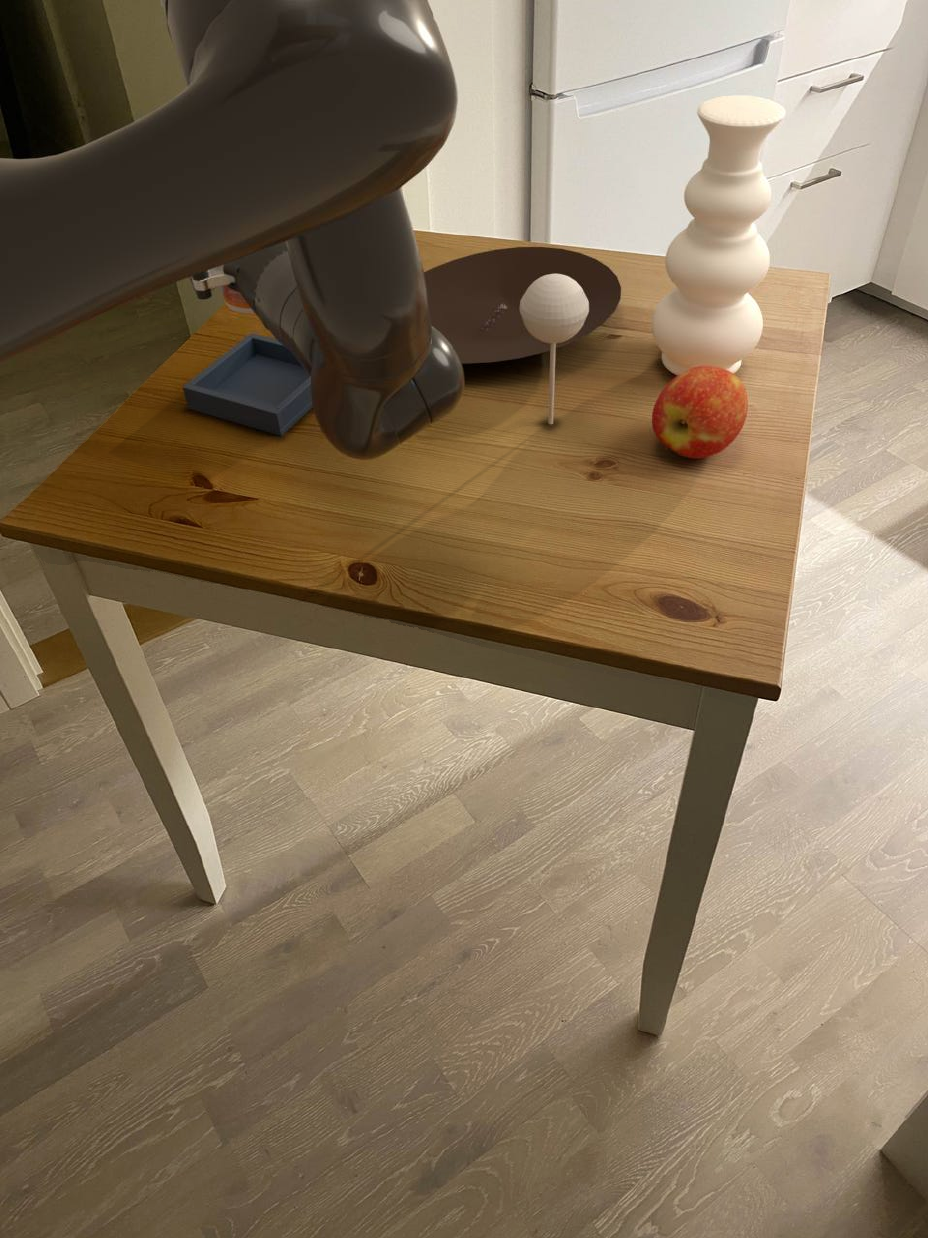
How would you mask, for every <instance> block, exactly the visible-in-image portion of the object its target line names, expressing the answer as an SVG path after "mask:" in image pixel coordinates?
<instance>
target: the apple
mask: <svg viewBox="0 0 928 1238" xmlns="http://www.w3.org/2000/svg"><path fill="white" fill-rule="evenodd" d="M746 389H747V388H746V387H745V385H744V383H743V381H742V380H741V379H740V378H739V377H738V376H737V375H736V374H735V373H734V374H733V373H731V372H730V371H728V370H726V369H723V368H720V367H714V366H699V367H694V368H691V369H689V370H686V371H684V372H682V373H681V374H679V375H678V376H677V375H675V377H673V378H672V379H671V380H670V381H669V382H668V383H667V384H666V386H665V387H664V388H663V389H662V390H661V392H660V393H659V395H658V397H657V398H656V400H655V403H654V405H653V409H652V412H651V426H652V430H653V432H654V435H655V436H656V439H657V440H658V441H659V442H660V444H661V445H663V446H664V447H666V448H667V449H669V450H670V451H672V452H674V453H675V454H677V455H678V456H681V457H684V458H689V459H705V458H706V459H707V458H709V457H711V456H715V455H716V454H719V453H721V452H723V451H724V450H726V449H727V448H728V447H729V446H730V445H731V444H732V443H733V442H734V441H735V440H736V439H737V437H738V436H739V434H740V433H741V431H742V430H743V428H744V425H745V423H746V420H747V416H748V410H749V409H748V408H749V399H748V394H747V390H746Z"/></svg>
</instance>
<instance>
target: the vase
mask: <svg viewBox="0 0 928 1238" xmlns="http://www.w3.org/2000/svg"><path fill="white" fill-rule="evenodd" d="M696 113H697V116H698V118H699V120H700V122H701V124H702V125H703V127H704V128H705V130H706V132H707V135H708V137H709V145H708V151H707V152H708V153H707V158H705V159H704V161H703V163H702V166H701V169H700V170H699V171H697V172H696V173H695V174H694V175H693V176H692V177H691V178H690V179H689V181H688V182H687V184H686V186H685V188H684V193H683V199H684V204H685V205H684V206H686V210H687V211H688V212H689V214H690V215H691V216H692V217H693V219H692V220H690V221H689V223H688V225H687V227H686V228H684V229H683V230H682V231H680V232H679V233H678V234H677V235H676V236H675V237H673V239H672V240H671V242H670V244H669V245H668V248H667V249H666V253H665V259H664V263H665V269H666V273H667V275H668V277H669V279H670V280H671V282H672V283H673V284H674V286H676V287H675V288H673V289H672V290H671V291H669V292H668V293H666V294H665V295H664V297H663V298H661V300H660V301H659V302H658V303H657V306H656V308H655V309H654V312H653V315H652V319H651V333H652V337H653V339H654V342H655V344H656V346H657V347H658V349H659V350H660V351H661V362H662V365H664V367H665V368H666V369H667V371H669V372H670V373H672V374H674V375H675V376H678V375H679V374H681V373H682V372H684V371H686V370H689V369H691V368H694V367H699V366H714V367H720V368H723V369H726V370H728V371H730V372H731V373H733V374H734V375H735V373H737V371H738V370H739V369H740V368H741V367H742V366H741V365H742V361H743V360H744V359H745V358H746V357H748V356H749V355H750V354H751V353H752V352H753V351H754V349H755V348H756V346H757V345H758V343H759V341H760V339H761V337H762V333H763V329H764V328H763V327H764V319H763V314H762V312H761V309H760V307H759V305H758V303H757V302H756V300H755V299H754V298H753V297H752V296H751V294H749V293H750V292H751V291H753V290H754V289H756V288H757V287H758V286H759V285H760V284H761V283H762V282H763V281H764V279H765V277H766V275H767V274H768V272H769V268H770V264H771V253H770V250H769V248H768V245H767V243H766V242H765V240H764V238H763V237H762V236H761V235H760V234H759V233H758V229H757V226H756V224H755V223H754V222H755V221H756V220H758V219H759V218H760V217H762V216H763V215H764V214H765V213H766V212H767V209H768V208H769V207H770V204H771V201H772V195H773V194H772V187H771V184H770V182H769V180H768V178H767V177H766V176H765V174H763V164H762V163H761V161H760V158H761V153H762V148H763V144H764V141H765V139H766V138H767V137H768V135H769V134H770V133H771V132H772V131H773V130H775V129H776V127H777V126H778V125H779V124H781V122H782V121H783V120H784V118H785V116H786V109H785V107H784V106H782V105H781V104H779V103H778V102H776V101H774V100H772V99H768V98H765V97H761V96H755V95H746V94H745V95H744V94H734V95H730V94H729V95H723V96H717V97H712V98H710V99H707V100H706V101H703V102H702V103H701V104H699V105H698V107H697V110H696Z"/></svg>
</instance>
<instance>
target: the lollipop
mask: <svg viewBox="0 0 928 1238" xmlns="http://www.w3.org/2000/svg"><path fill="white" fill-rule="evenodd" d="M588 312H589V301H588V299H587V297H586V295H585V293H584V291H583V289H582V288H581V286H580V285H579V284H578V283H577V282H576V281H575V280H573V279H572V278H570V277H568V276H566V275H562V274H549V275H545V276H542V277H540V278H539V279H537V280H535V281H534V282H533V283H532V284H531V285H530V286H529V287H528V289H527V291H526V292H525V294H524V295H523V297H522V299H521V301H520V313H521V316H522V319H523V322H524V325H525V327H526V328H527V330H528V331H529V332H530V333H531V334H532V335H533V336H534V337H535V338H537V339H539V340H540V341H543V342H546V343H551V348H550V351H549V352H550V353H549V385H548V387H549V388H548V389H549V391H548V419H547V420H548V422H547V423H548V425H553V424H554V407H555V406H554V403H555V376H556V373H555V372H556V348H555V347H556V343H561V342H564V341H566V340H568V339H570V338H572V337H573V336H574V335H576V334H577V333H578V332H579V330H580V329H581V327H582V326H583V324H584V321H585V319H586V317H587V315H588Z"/></svg>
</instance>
